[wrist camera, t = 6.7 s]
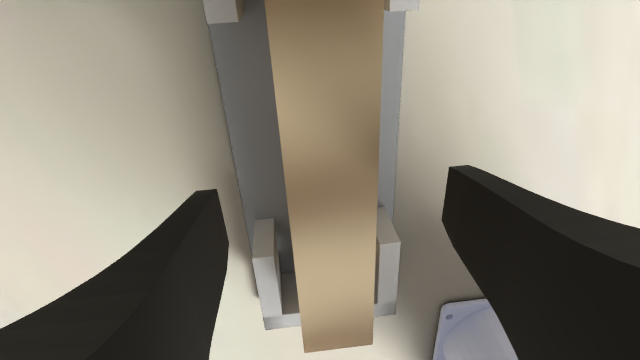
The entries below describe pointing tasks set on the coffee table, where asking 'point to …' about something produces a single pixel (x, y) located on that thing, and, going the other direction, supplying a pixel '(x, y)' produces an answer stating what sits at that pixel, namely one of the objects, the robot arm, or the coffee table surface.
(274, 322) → the end cap cradle
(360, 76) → the oak slat
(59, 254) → the coffee table surface
